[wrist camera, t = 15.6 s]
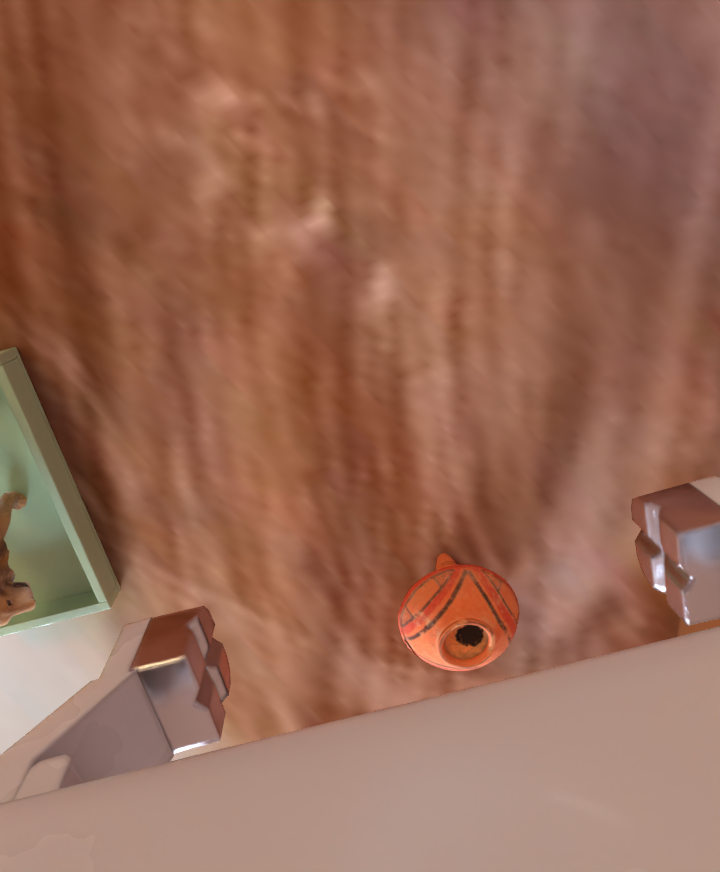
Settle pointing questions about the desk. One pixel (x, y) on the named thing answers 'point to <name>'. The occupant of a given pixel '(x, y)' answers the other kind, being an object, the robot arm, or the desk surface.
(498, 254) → the desk surface
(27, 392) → the tray
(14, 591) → the lion figurine
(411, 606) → the pot
